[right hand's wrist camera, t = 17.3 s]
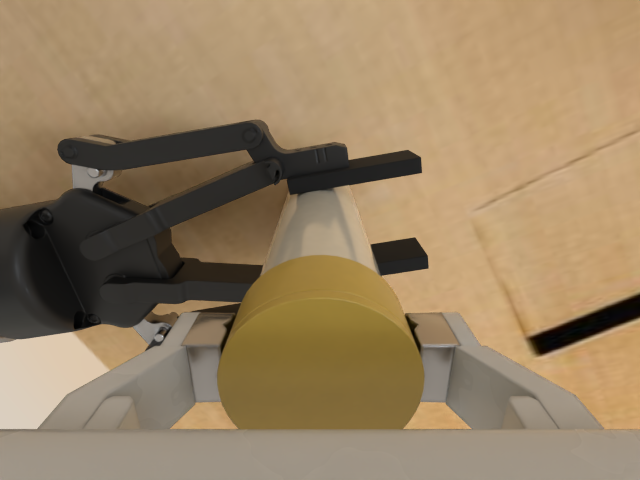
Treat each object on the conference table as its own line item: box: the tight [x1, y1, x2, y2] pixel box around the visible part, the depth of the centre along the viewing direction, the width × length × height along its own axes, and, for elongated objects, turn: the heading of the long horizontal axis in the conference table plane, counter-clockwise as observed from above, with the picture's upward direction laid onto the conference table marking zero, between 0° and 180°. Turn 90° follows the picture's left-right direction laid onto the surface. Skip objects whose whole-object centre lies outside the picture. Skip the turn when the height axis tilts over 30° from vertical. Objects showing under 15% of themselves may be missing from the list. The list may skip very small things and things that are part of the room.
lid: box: [217, 255, 425, 429], centre depth 10 cm, size 5×5×2 cm
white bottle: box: [260, 185, 381, 276], centre depth 17 cm, size 4×4×18 cm
